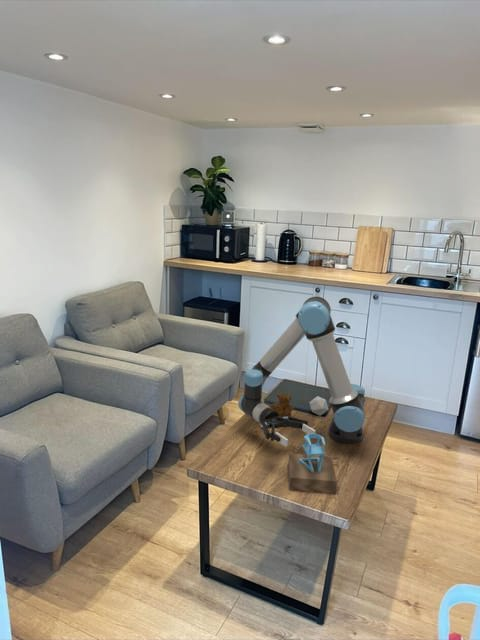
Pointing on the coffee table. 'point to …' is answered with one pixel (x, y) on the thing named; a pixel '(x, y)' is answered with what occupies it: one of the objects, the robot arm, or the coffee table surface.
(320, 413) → the die
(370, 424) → the coffee table surface
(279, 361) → the robot arm
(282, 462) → the coffee table surface
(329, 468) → the wooden square box
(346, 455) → the coffee table surface
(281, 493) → the coffee table surface
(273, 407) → the stuffed squirrel
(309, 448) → the chair
